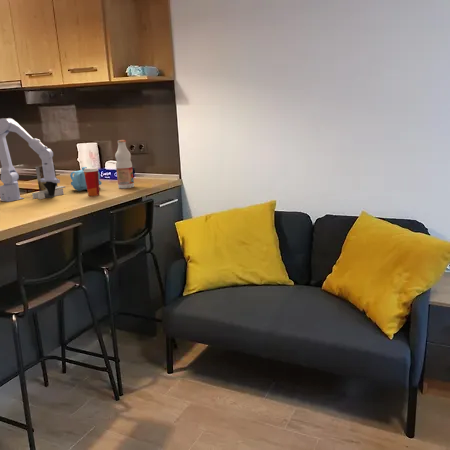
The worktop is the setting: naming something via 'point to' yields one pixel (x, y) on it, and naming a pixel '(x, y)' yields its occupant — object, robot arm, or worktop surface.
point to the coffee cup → (92, 181)
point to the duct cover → (59, 187)
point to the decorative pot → (80, 180)
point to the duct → (41, 194)
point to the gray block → (48, 195)
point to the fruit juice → (124, 166)
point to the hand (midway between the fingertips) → (52, 195)
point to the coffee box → (40, 175)
